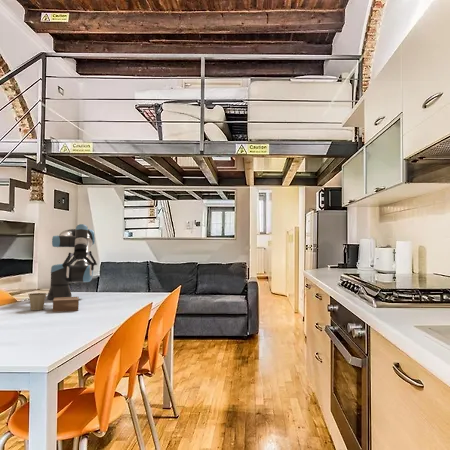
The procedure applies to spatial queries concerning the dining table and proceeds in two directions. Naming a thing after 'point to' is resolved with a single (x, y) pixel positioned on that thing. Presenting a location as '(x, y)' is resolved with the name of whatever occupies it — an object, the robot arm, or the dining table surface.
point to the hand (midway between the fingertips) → (79, 275)
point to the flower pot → (37, 300)
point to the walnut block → (65, 304)
